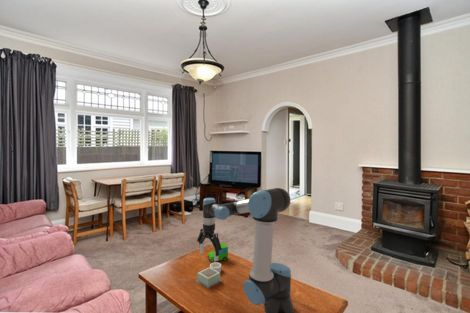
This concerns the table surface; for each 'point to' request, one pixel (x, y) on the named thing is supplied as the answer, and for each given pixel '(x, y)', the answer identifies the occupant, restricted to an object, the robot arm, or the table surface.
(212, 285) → the mat
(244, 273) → the table surface
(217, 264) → the bowl
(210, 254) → the toy car
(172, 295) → the table surface
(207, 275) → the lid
